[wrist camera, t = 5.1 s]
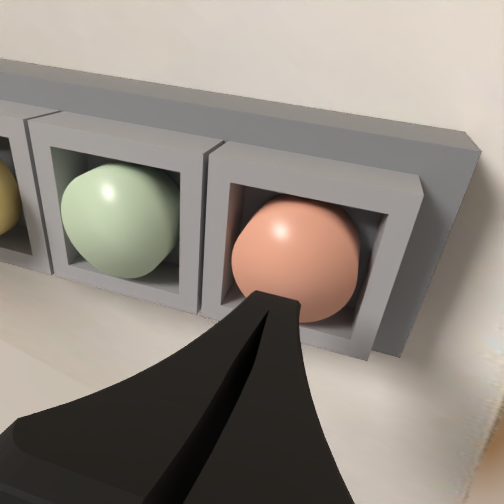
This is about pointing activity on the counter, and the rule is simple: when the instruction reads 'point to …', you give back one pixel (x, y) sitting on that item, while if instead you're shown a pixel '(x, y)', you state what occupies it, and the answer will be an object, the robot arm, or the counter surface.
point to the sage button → (122, 217)
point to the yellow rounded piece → (8, 199)
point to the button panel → (235, 189)
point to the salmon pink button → (299, 254)
